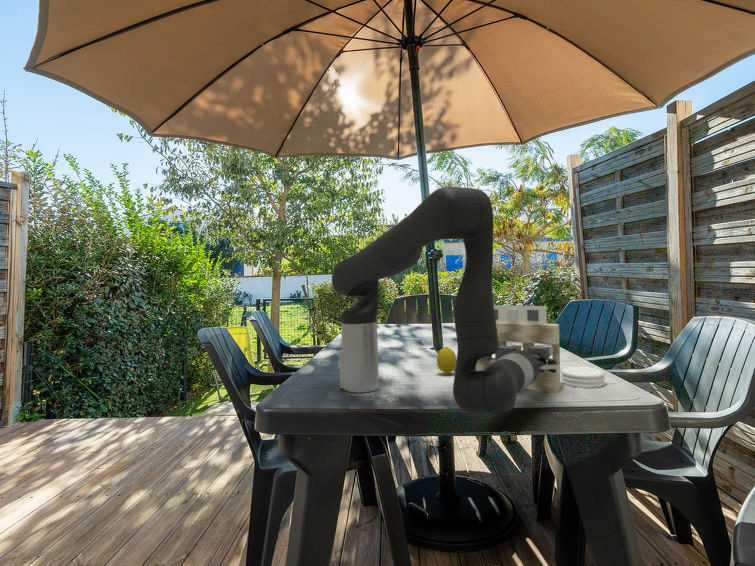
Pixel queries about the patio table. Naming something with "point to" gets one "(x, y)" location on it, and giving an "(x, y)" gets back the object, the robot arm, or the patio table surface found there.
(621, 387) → the patio table surface
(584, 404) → the patio table surface
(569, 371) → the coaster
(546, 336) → the board
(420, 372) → the patio table surface
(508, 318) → the card
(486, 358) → the button left
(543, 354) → the button right
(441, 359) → the lemon
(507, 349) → the button mid
